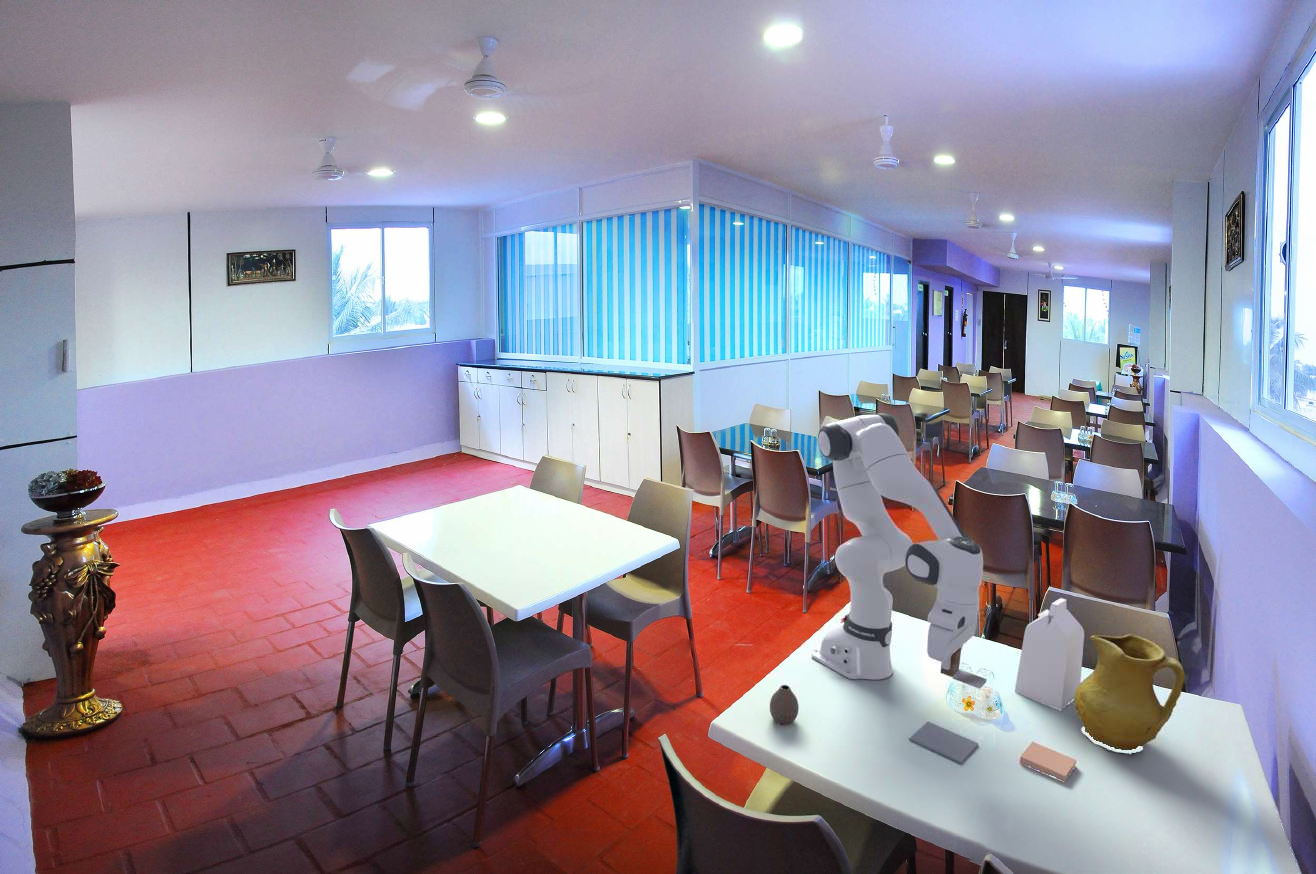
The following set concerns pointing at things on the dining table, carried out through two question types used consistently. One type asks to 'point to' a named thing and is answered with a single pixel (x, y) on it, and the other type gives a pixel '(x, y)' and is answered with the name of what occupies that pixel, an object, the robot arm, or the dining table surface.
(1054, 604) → the milk
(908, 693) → the dining table surface
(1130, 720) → the pitcher
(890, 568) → the robot arm
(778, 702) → the vase
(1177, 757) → the dining table surface
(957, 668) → the brown block
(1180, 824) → the dining table surface
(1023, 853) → the dining table surface
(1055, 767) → the tile
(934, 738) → the pad
